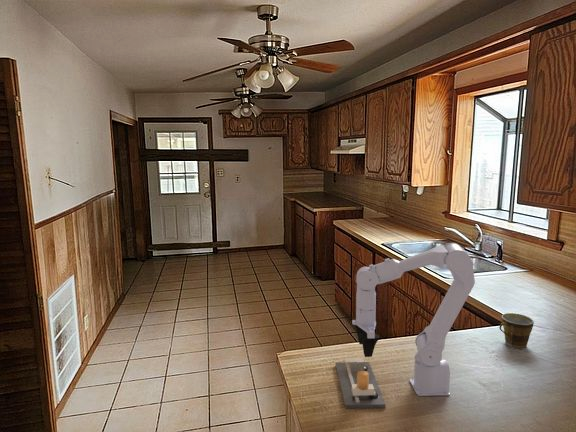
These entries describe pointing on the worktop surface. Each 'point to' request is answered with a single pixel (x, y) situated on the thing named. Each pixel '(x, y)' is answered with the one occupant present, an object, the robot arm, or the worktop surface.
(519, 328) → the ceramic cup
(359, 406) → the hole plate
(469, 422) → the worktop surface
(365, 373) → the block with orange knob
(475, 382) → the worktop surface
